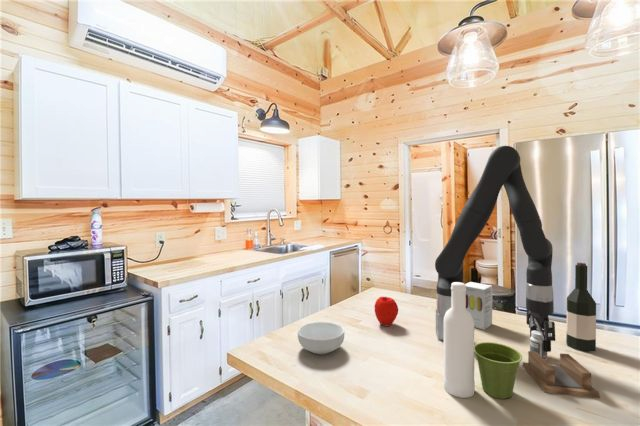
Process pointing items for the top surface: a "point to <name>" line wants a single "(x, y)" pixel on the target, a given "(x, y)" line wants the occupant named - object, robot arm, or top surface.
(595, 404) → the top surface
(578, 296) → the wine bottle
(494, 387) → the plant pot
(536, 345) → the pill bottle
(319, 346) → the cereal bowl
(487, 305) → the supplement box
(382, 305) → the apple
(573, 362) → the cradle
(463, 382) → the bottle
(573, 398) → the top surface
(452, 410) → the top surface
